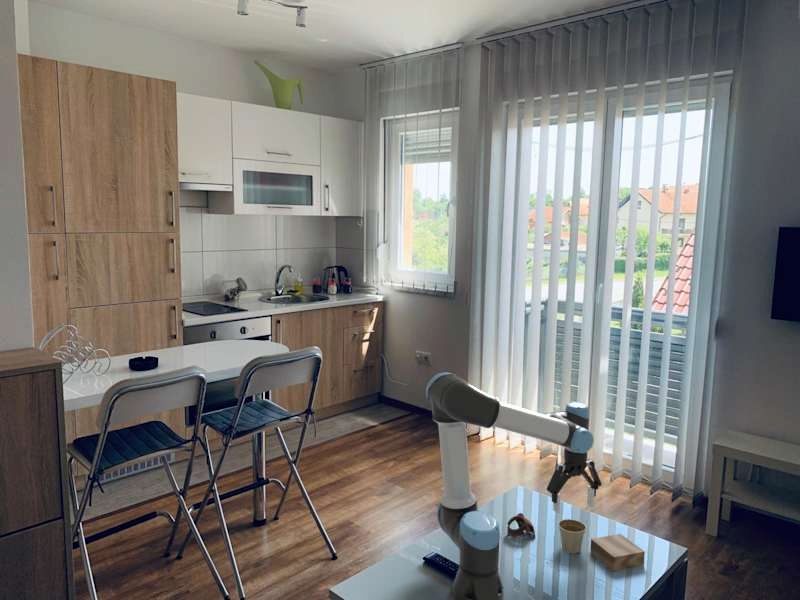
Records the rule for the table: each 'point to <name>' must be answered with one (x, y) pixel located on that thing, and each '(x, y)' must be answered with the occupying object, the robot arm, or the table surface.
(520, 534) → the broken clay jug
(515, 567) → the table surface
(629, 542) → the walnut stand
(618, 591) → the table surface
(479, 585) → the robot arm
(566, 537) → the flower pot
